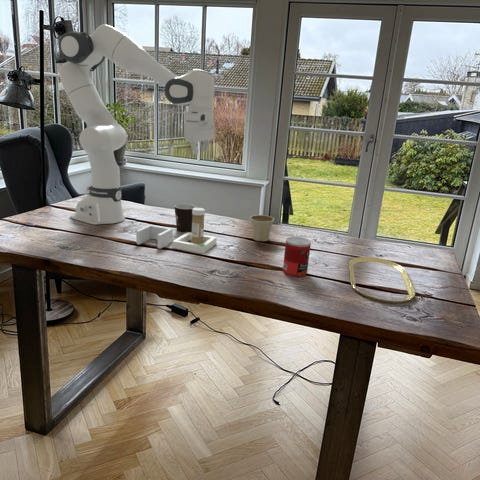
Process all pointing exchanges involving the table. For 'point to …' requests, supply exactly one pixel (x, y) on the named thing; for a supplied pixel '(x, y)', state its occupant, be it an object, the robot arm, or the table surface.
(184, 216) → the dark brown cup
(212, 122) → the robot arm
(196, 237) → the sprinkles bottle
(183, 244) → the block
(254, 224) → the flower pot
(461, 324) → the table surface
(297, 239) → the canned food
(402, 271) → the gold ring
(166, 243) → the bracket
